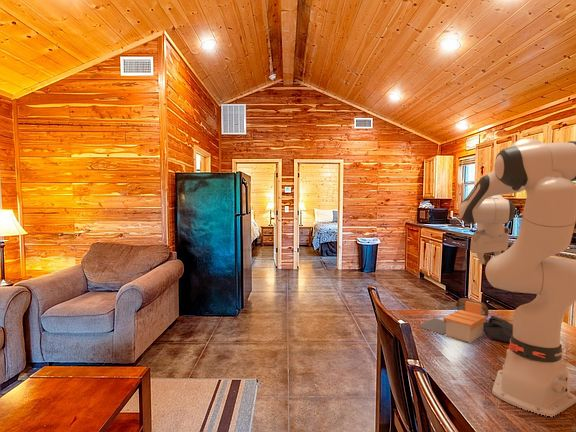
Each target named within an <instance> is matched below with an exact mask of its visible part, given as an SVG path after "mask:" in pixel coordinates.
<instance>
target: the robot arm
mask: <svg viewBox="0 0 576 432" xmlns="http://www.w3.org/2000/svg"><path fill="white" fill-rule="evenodd" d="M493 168H494V169H493V170H492V171H490V172H489V173H487V174H485V175H484V176H482V177H480V179H479V180H478V181H477V183H476V184H475V186H474V187H473V188H472V190H471V191H470V192H469V194H468V195H467V197H466V198H465V199H463V200H462V201H461V203H460V204H459V207H458V217H459V219H460V220H461V221H462V222H463V223H465V225H466V224H467V225H475V224H477V228H476V229H477V230H475V231H474V233H473V234H472V236H471V240H470V246H469V247H470V248H469V250H470V253H471V254H475V255H476V256H477V258H478V264H481V265H485V264H486V265H485V270H484V271H485V272H484V273H485V277H486V279H487V282H488V283H489V284H490V285H491V287H493V288H495V289H498V290H499V289H500V290H501V291H502V290H503V291H507V292H511V293H523V294H533V295H536V297H535V298H534V299H532V300H531V301H530V302H528V303H523V304H521V305H519V306H518V307H516V308H515V310H514V311H513V313H512V325H513V334H512V335H511V339H510V343H509V345H508V349H506V356H505V360H504V364H502V366H501V368H502V369H498V371H497V373H496V377H495V380H494V383H493V386H492V388H491V389H492V391H491V393H492V394H493V395H494V396H495V397H497V398H499V399H500V400H502V401H504V402H506V403H508V404H510V405H511V406H514V407H516V406H517V408H519V409H521V408H522V410H524V411H527V410H528V411H527V412H529V411H531V412H530V413H532V412H534V413H533V414H535V413H537V414H536V415H539V414H541V415H540V416H542V415H544V416H543V417H547V416H550V417H549V418H554V417H556V416H557V414H558V415H560V412H561V413H563V412H564V411H565V410H567V409H568V408H570V407H572V406H573V405H575V404H576V395H575V394H573V393H571V392H570V371H569V368H568V367H567V365H565V363H564V362H563V360H562V358H563V346H562V344H561V332H562V331H561V330H562V325H563V324H562V323H563V319H564V316H565V314H566V312H567V311H568V309H570V307H571V306H572V305H573V304H574V303H575V302H576V259H574V258H573V259H571V258H567V257H554V256H555V255H557V254H560V253H563V252H564V251H565V250H566V249H567V248H568V247H569V246H570V245H571V242H572V238H573V234H574V229H575V225H576V183H575V181H576V140H569V141H566V142H565V141H564V142H561V141H560V142H556V141H555V142H541V140H538V139H536V138H531V137H530V138H529V137H527V138H521V139H519V140H516V141H515V142H514V143H512V144H511V146H509V147H507V148H504V149H501V150H500V151H499V152H498V153H497V154H496V157H495V161H494V165H493ZM523 191H525V194H526V199H525V203H524V207H523V212H522V217H521V223H520V228H519V232H518V235H517V237H516V240H515V241H514V242H513V243H512V244H511V246H510V247H509V234H510V228H509V227H507V226H505V225H504V224H507V223H510V221H512V220H513V219H514V218H515V214H516V213H515V210H516V208H515V204H514V203H513V202H512V201H511V200H510V199H506V198H505V197H503V195H508V194H510V195H511V194H517V193H521V192H523ZM488 253H489V254H490V253H494V255H493V256H492V257H491V258H490V259H489V260H488V261H487V263H486V259H484V256H485V254H488ZM552 256H553V257H552ZM545 415H546V416H545ZM555 415H556V416H555ZM553 416H554V417H553Z"/></svg>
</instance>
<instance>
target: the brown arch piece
mask: <svg viewBox="0 0 576 432" xmlns="http://www.w3.org/2000/svg"><path fill="white" fill-rule="evenodd" d="M466 301H469V302H473V303H478V304H482V311H481V315H484V316H486V319H488V316H489V307H488V306H487V305H486V304H485V303H483V302H482V301H477V300H473V299H471V298H466V297H465V298H463V297H461V298H458V300H457V301H456V310H457V311H458V310H463V311H465V302H466Z"/></svg>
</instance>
